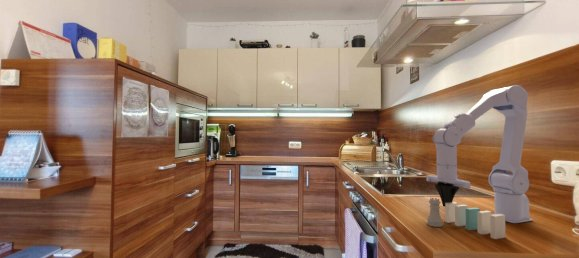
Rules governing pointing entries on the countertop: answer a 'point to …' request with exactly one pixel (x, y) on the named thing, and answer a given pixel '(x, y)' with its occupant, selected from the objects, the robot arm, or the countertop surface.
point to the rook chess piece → (434, 213)
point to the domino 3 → (472, 218)
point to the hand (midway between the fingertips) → (446, 206)
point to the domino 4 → (484, 222)
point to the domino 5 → (497, 226)
